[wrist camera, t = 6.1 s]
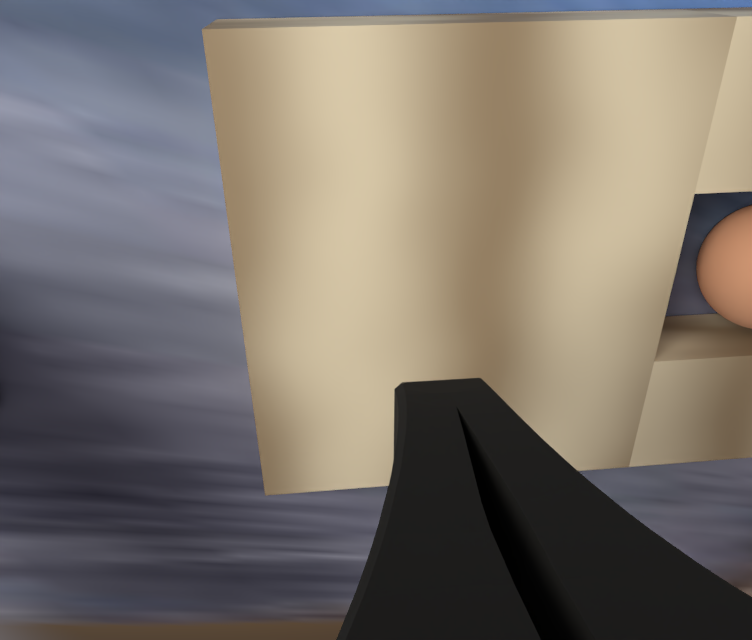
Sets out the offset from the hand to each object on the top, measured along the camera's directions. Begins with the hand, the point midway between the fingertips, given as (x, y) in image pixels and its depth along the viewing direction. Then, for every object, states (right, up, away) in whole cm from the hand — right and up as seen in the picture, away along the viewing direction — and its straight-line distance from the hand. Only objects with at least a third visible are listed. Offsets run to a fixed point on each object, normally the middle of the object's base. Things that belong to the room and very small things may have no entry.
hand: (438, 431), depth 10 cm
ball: (+10, +3, +8) cm, 13 cm away
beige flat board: (+4, +4, +9) cm, 11 cm away
